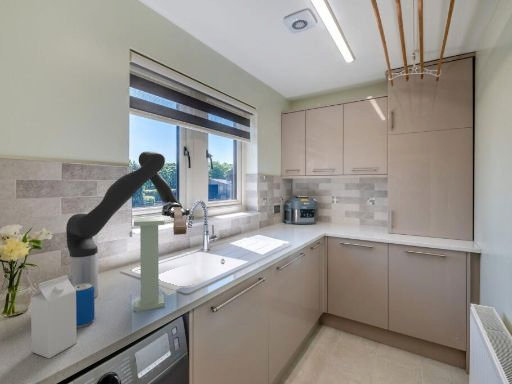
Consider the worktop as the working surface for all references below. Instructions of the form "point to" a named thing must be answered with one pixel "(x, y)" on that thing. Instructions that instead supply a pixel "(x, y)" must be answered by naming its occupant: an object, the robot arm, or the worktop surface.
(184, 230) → the walnut rail
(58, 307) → the milk carton
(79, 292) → the beverage can
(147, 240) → the shelf stand
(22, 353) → the worktop surface
